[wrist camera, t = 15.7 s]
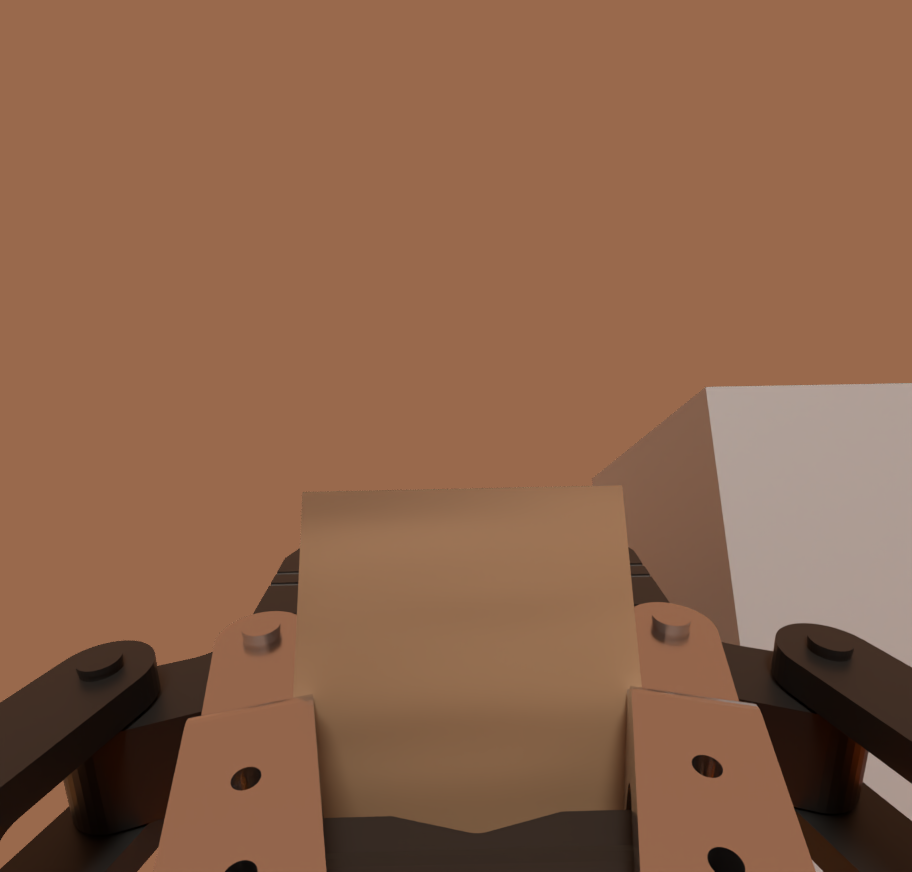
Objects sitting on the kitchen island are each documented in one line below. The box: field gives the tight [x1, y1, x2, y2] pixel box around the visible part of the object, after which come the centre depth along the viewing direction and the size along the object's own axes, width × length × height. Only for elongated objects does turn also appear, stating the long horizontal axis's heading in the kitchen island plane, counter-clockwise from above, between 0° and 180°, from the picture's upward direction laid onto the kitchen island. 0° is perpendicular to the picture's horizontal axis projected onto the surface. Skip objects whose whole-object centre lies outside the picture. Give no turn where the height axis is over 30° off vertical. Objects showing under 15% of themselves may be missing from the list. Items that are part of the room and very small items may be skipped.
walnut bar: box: [293, 485, 642, 833], centre depth 18 cm, size 24×4×4 cm, turn 0°
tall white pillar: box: [592, 383, 912, 872], centre depth 23 cm, size 16×12×32 cm
